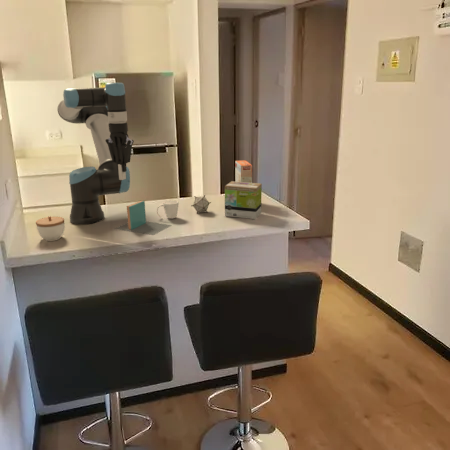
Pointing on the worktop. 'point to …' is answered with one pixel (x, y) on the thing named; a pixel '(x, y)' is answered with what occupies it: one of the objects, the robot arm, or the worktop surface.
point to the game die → (200, 204)
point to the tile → (136, 215)
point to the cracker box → (243, 171)
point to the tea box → (243, 199)
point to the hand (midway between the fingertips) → (122, 179)
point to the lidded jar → (50, 228)
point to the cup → (170, 208)
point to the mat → (145, 228)
